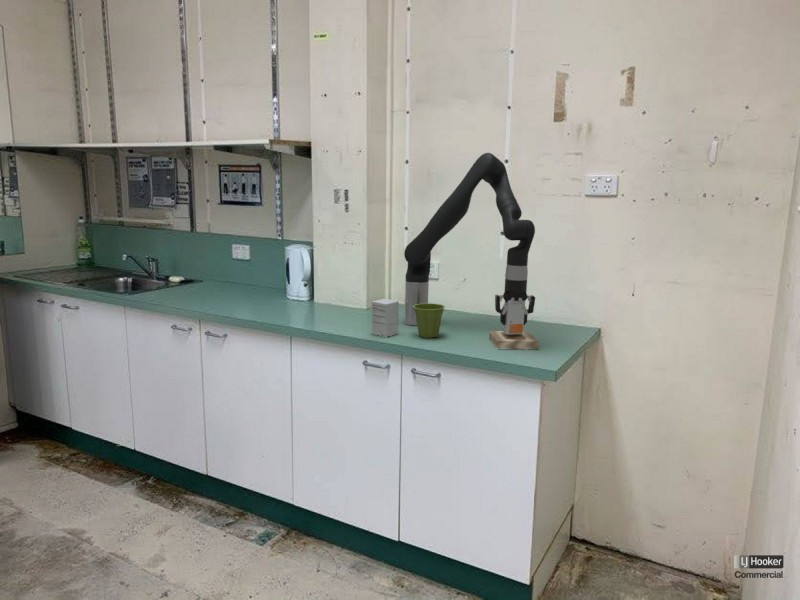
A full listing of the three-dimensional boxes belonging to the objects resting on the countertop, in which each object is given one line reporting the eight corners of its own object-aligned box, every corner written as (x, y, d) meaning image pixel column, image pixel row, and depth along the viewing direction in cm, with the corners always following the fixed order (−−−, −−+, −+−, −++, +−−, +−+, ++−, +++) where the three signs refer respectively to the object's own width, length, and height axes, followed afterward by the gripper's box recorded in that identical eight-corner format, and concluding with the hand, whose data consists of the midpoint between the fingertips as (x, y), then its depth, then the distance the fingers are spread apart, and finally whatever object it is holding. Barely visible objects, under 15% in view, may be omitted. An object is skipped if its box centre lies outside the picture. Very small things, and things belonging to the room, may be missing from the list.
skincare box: (507, 335, 202) (509, 301, 200) (502, 332, 206) (504, 299, 204) (523, 334, 204) (525, 300, 202) (518, 331, 208) (520, 298, 206)
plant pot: (440, 331, 222) (441, 302, 220) (447, 339, 210) (448, 309, 208) (409, 332, 220) (410, 303, 218) (415, 340, 209) (415, 309, 207)
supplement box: (383, 330, 222) (384, 298, 219) (398, 334, 217) (399, 301, 215) (370, 334, 216) (371, 301, 214) (385, 337, 211) (386, 303, 209)
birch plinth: (497, 349, 199) (497, 340, 198) (489, 338, 212) (489, 330, 212) (537, 349, 199) (538, 340, 199) (526, 339, 213) (527, 330, 212)
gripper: (498, 279, 197) (495, 326, 201) (539, 279, 198) (536, 327, 201) (493, 275, 205) (491, 321, 208) (533, 276, 205) (530, 322, 209)
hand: (513, 324), depth 205 cm, fingers closed on skincare box, 6 cm apart
